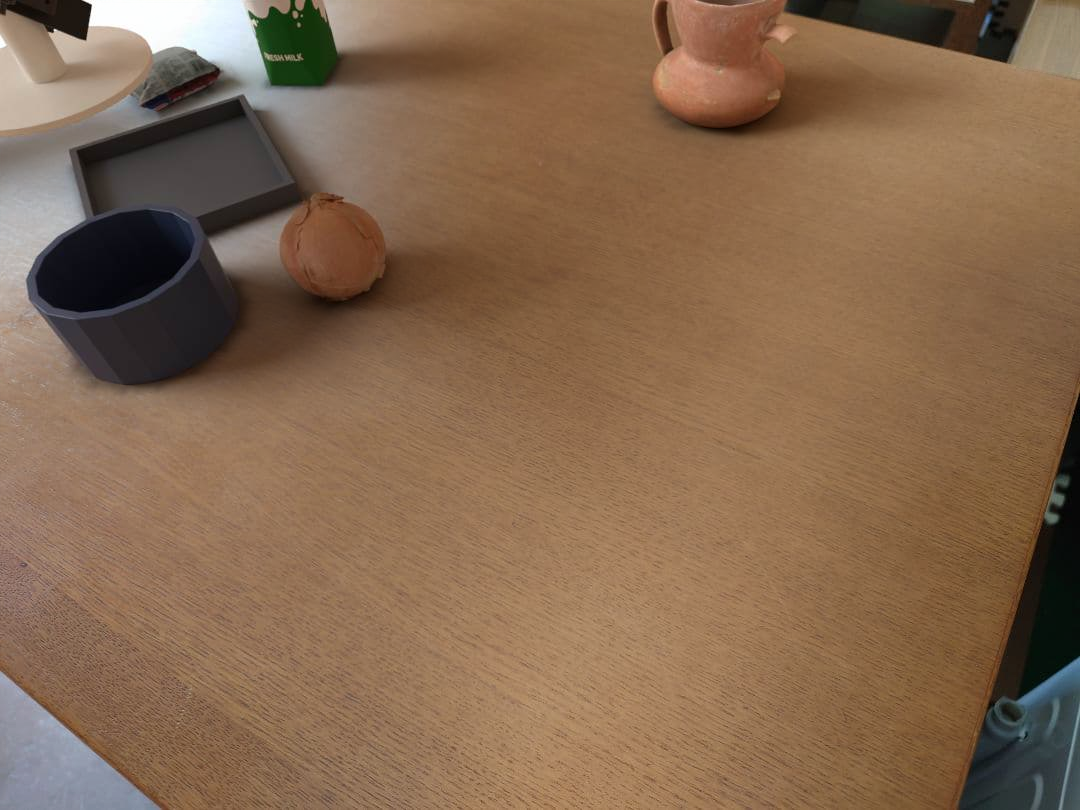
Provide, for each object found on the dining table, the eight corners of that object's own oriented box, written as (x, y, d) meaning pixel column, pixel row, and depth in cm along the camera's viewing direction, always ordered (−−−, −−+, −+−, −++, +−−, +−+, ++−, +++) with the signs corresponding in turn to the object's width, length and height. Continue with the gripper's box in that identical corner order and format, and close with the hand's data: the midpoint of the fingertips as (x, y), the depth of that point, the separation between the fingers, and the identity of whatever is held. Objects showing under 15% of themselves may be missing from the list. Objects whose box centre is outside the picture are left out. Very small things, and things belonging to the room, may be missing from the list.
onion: (342, 285, 79) (313, 186, 75) (417, 282, 75) (390, 176, 70) (277, 318, 72) (240, 210, 67) (355, 317, 67) (321, 201, 63)
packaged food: (118, 100, 100) (99, 63, 96) (200, 63, 105) (185, 27, 101) (149, 124, 96) (130, 87, 92) (232, 85, 101) (218, 48, 97)
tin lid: (-52, 76, 64) (-146, -60, 56) (139, 22, 68) (76, -112, 60) (-46, 169, 55) (-157, 24, 47) (174, 101, 59) (106, -44, 51)
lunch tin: (71, 310, 75) (19, 241, 68) (219, 256, 79) (183, 185, 72) (92, 411, 66) (35, 343, 60) (257, 345, 70) (220, 274, 63)
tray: (80, 168, 91) (68, 149, 89) (251, 113, 96) (243, 93, 94) (107, 273, 78) (94, 252, 76) (302, 202, 83) (294, 182, 81)
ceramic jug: (816, 107, 88) (845, -26, 77) (731, 162, 82) (749, 27, 71) (695, 55, 97) (706, -70, 86) (612, 102, 91) (612, -26, 80)
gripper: (-276, -246, 35) (153, -18, 57) (-442, -257, 41) (8, -45, 62) (-290, -72, 37) (134, 85, 58) (-449, -105, 42) (-6, 50, 64)
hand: (68, 18), depth 60 cm, fingers closed on tin lid, 3 cm apart
